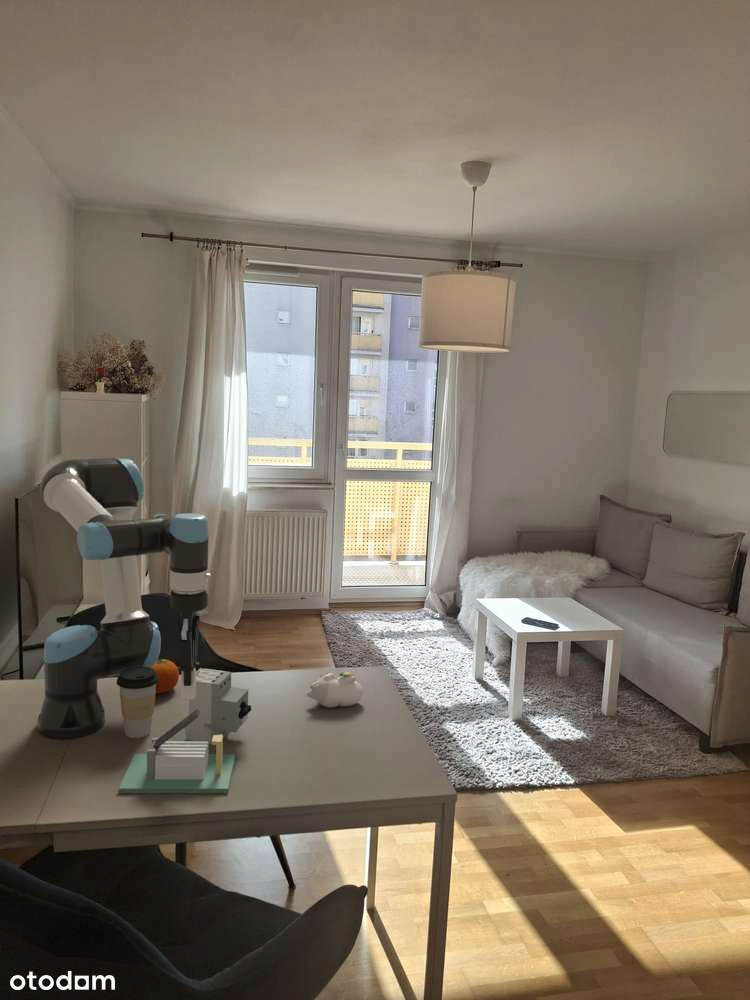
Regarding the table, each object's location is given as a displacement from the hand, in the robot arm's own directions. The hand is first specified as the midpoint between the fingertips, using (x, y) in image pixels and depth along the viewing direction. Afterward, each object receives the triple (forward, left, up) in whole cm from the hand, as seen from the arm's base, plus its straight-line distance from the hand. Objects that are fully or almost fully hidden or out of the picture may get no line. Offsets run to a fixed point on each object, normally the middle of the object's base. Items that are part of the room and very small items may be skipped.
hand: (188, 697), depth 155 cm
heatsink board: (-2, -1, -18) cm, 18 cm away
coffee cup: (-23, +9, -18) cm, 30 cm away
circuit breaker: (-5, +17, -18) cm, 25 cm away
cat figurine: (+10, +47, -18) cm, 52 cm away
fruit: (-35, +30, -18) cm, 49 cm away
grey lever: (-2, -1, -8) cm, 8 cm away
